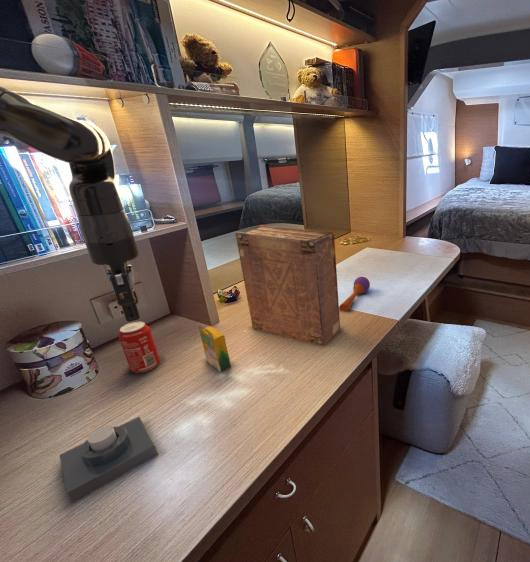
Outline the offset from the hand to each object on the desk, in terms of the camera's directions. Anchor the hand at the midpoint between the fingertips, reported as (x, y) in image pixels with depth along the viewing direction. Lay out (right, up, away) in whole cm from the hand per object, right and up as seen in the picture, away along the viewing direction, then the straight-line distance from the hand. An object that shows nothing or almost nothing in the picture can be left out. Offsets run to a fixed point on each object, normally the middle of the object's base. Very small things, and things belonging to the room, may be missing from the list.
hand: (133, 311), depth 70 cm
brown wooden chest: (+27, -9, +31) cm, 42 cm away
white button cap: (+3, -22, -12) cm, 25 cm away
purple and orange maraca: (+43, 0, +49) cm, 65 cm away
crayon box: (+11, -15, +15) cm, 24 cm away
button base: (+4, -26, -10) cm, 28 cm away
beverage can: (-8, -16, +15) cm, 23 cm away
